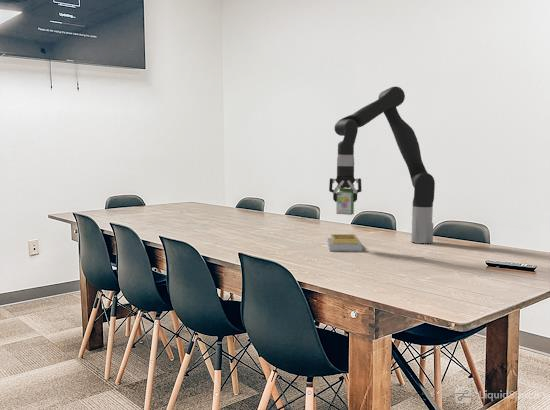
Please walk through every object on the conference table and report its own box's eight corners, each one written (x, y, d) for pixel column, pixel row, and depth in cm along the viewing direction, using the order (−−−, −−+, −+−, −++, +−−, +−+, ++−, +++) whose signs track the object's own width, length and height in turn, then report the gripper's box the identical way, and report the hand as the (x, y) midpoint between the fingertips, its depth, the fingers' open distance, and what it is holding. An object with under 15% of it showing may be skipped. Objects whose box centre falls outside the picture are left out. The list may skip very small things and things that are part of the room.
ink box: (336, 214, 240) (336, 184, 239) (339, 213, 244) (339, 183, 242) (350, 215, 237) (351, 184, 235) (353, 214, 240) (354, 184, 239)
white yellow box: (357, 246, 249) (358, 234, 249) (361, 253, 233) (362, 239, 233) (327, 246, 250) (327, 233, 249) (329, 252, 234) (329, 239, 233)
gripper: (360, 164, 241) (360, 200, 243) (328, 164, 242) (328, 200, 244) (362, 165, 234) (362, 202, 236) (329, 165, 234) (329, 202, 236)
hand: (345, 201), depth 240 cm, fingers closed on ink box, 8 cm apart
